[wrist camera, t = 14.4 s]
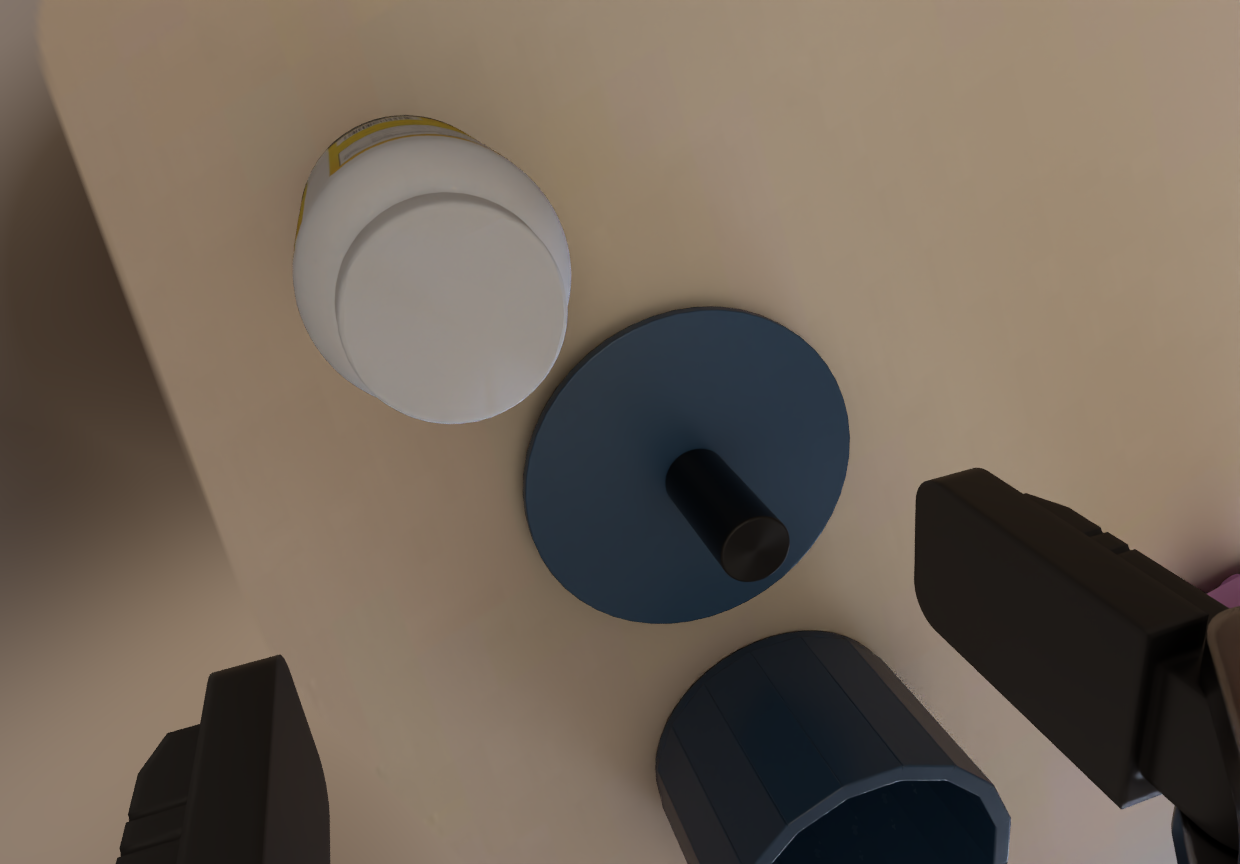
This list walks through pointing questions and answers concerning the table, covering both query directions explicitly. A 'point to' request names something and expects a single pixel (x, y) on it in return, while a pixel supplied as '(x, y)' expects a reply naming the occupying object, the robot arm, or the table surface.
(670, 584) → the lid
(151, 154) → the table surface
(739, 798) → the pot
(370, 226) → the pill bottle
